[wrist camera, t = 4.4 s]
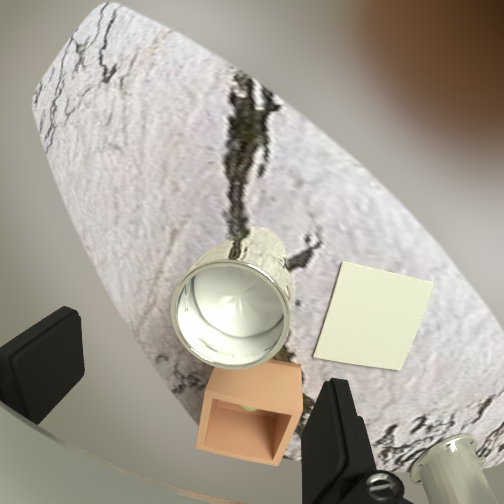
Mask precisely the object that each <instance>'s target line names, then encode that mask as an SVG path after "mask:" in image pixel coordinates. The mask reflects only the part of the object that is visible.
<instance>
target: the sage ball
mask: <svg viewBox="0 0 504 504" xmlns="http://www.w3.org/2000/svg"><path fill="white" fill-rule="evenodd" d="M240 407H241V408H243V409H244V410H246V411H250V412H252V411H256V410H258V409H257V408H252V407H247V406H243V405H240Z"/></svg>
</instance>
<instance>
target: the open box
mask: <svg viewBox="0 0 504 504" xmlns="http://www.w3.org/2000/svg"><path fill="white" fill-rule="evenodd" d="M240 405H243V406H247V407H252V408H257V409H258V410H256V411H252V412H250V411H246V410H244V409H243V408H241V407H240ZM302 412H303V398H302V378H301V365H299V364H294V363H289V362H284V361H279V360H274V359H269V360H268V361H266V362H265V363H263V364H261V365H259V366H256V367H253V368H249V369H244V370H227V369H221V368H217V367H214V369H213V371H212V374H211V376H210V379H209V381H208V384H207V386H206V389H205V393H204V399H203V405H202V412H201V418H200V424H199V430H198V436H197V443H196V448H197V449H200V450H204V451H208V452H212V453H216V454H219V455H224V456H228V457H233V458H237V459H242V460H247V461H252V462H258V463H263V464H270V465H276V466H278V465H279V463H280V461H281V459H282V457H283V454H284V452H285V450H286V448H287V446H288V444H289V441H290V439H291V437H292V435H293V433H294V430H295V428H296V426H297V423H298V421H299V419H300V416H301V414H302Z"/></svg>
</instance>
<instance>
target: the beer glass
mask: <svg viewBox="0 0 504 504" xmlns="http://www.w3.org/2000/svg"><path fill="white" fill-rule="evenodd" d="M292 307H293V285H292V279H291V274H290V271H289V269H288V267H287V265H286V250H285V247H284V244H283V242H282V241H281V239H280V238H279V237H278V236H277V235H276V234H275V233H274V232H273V231H271V230H269V229H267V228H264V227H259V226H250V227H246V228H243V229H241V230H239V231H238V232H236V233H235V234H234V235H233V236H232V237H231V238H230V239H229V240H226V241H223V242H220V243H218V244H217V245H215V246H213V247H212V248H210V249H209V250H208V251H206V252H205V253H204V254H203V255H202V256H201V257H200V258H199V259H198V260H197V261H196V262H195V263H194V264H193V265H192V267H191V268H190V269H189V271H188V272H187V273H186V274H185V275H184V276H183V278H182V279H181V280H180V281H179V283H178V284H177V286H176V288H175V290H174V293H173V296H172V300H171V308H170V312H171V320H172V324H173V328H174V330H175V333H176V335H177V337H178V338H179V340H180V341H181V343H182V344H183V345H184V347H185V348H186V349H187V350H188V351H189V352H190V353H191V354H192V355H194V356H195V357H196V358H198V359H199V360H201V361H203V362H204V363H207V364H209V365H211V366H214V367H217V368H221V369H227V370H244V369H249V368H253V367H256V366H259V365H261V364H263V363H265V362H266V361H268V360H269V359H271V358H272V357H273V356H274V355H275V354H276V353H277V352H278V351H279V350H280V349H281V347H282V346H283V344H284V343H285V341H286V339H287V336H288V333H289V329H290V321H291V314H292Z"/></svg>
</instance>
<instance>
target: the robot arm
mask: <svg viewBox="0 0 504 504" xmlns="http://www.w3.org/2000/svg"><path fill="white" fill-rule="evenodd" d="M84 372H85V368H84V358H83V346H82V331H81V317H80V316H79V315H78V312H77V311H76V310H74V309H71V308H69V307H66V306H63V307H61V308H60V309H58V310H56V311H55V312H53V313H52V314H50V315H49V316H47V317H46V318H44V319H42V320H41V321H40V322H38V323H36V324H35V325H33V326H32V327H30V328H29V329H27V330H26V331H24V332H23V333H21V334H20V335H18V336H17V337H15V338H14V339H12V340H11V341H9V342H8V343H6V344H5V345H3V346H2V347H0V504H245V503H240V502H235V501H229V500H225V499H220V498H215V497H211V496H207V495H203V494H199V493H195V492H191V491H188V490H184V489H181V488H177V487H174V486H170V485H168V484H164V483H161V482H158V481H155V480H152V479H149V478H147V477H144V476H141V475H138V474H136V473H133V472H131V471H128V470H125V469H123V468H120V467H118V466H116V465H113V464H111V463H109V462H106V461H104V460H102V459H100V458H97V457H95V456H93V455H91V454H89V453H87V452H85V451H83V450H80V449H79V448H77V447H75V446H73V445H71V444H69V443H67V442H66V441H64V440H62V439H60V438H58V437H56V436H54V435H53V434H51V433H49V432H48V431H46V430H44V429H43V428H41V427H39V426H38V424H39V423H40V422H41V421H42V420H43V419H44V418H45V417H46V416H47V415H48V414H49V413H50V411H51V410H52V409H53V408H54V407H55V406H56V405H57V404H58V403H59V402H60V401H61V400H62V399H63V398H64V396H65V395H66V394H67V393H68V392H69V391H70V390H71V389H72V388H73V387H74V386H75V385H76V384H77V383H78V382H79V381H80V380H81V378H82V377H83V375H84ZM476 447H477V442H476V440H475V438H474V437H473V436H471V435H469V434H460V435H456V436H453V437H450V438H448V439H445V440H443V441H441V442H440V443H438V444H436V445H434V446H433V447H431V448H430V449H429V450H427V451H426V452H425V453H424V454H422V455H421V456H420V457H419V458H418V459H417V461H416V462H415V463H414V465H413V466H412V468H411V471H410V477H411V480H412V481H413V482H414V483H415V484H418V485H423V486H424V489H425V492H426V495H427V498H428V501H429V504H498V503H497V501H496V499H495V497H494V495H493V493H492V490H491V489H490V486H489V485H488V483H487V481H486V479H485V476H484V475H483V473H482V470H483V465H482V464H484V463H485V461H486V457H479V458H478V457H477V456H476V454H475V451H476ZM301 455H302V504H413V503H411V502H410V501H408V500H406V499H404V498H403V495H404V485H403V483H402V481H401V480H400V478H399V477H398V476H396V475H395V474H393V473H391V472H389V471H385V470H377V469H376V465H375V461H374V457H373V453H372V449H371V445H370V442H369V438H368V434H367V431H366V427H365V423H364V420H363V418H362V417H361V416H357V413H356V409H355V405H354V402H353V398H352V394H351V391H350V387H349V384H348V381H347V380H344V379H337V378H331V379H330V381H325V382H324V384H323V386H322V389H321V391H320V394H319V396H318V398H317V401H316V403H315V405H314V407H313V410H312V412H311V414H310V416H309V419H308V421H307V423H306V425H305V427H304V430H303V432H302V436H301Z"/></svg>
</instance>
